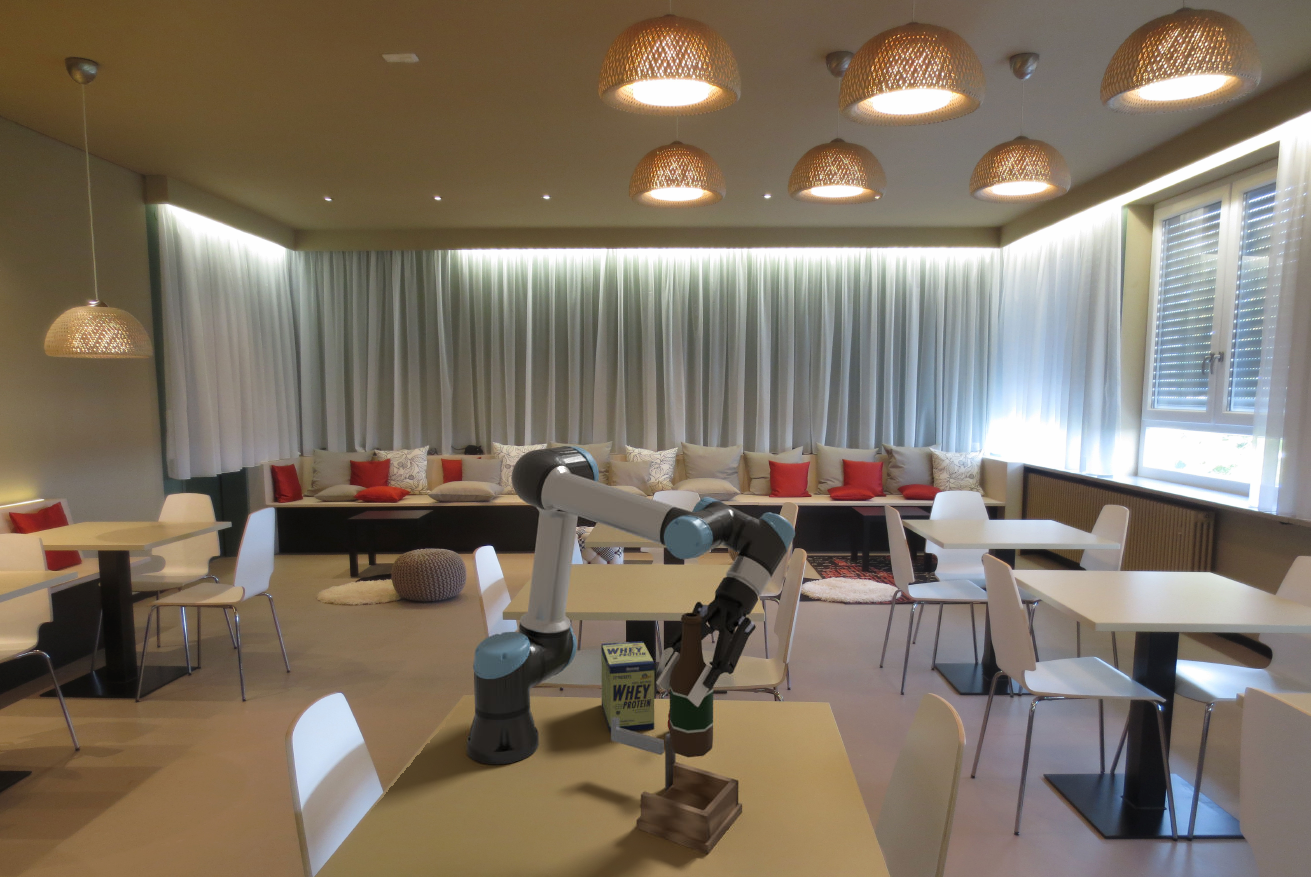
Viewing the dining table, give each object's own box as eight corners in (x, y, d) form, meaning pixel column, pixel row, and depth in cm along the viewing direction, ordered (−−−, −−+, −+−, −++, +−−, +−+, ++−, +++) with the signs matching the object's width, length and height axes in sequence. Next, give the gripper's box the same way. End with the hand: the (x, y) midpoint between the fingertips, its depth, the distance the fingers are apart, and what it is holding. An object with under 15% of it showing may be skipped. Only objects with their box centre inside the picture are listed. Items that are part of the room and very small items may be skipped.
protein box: (609, 734, 161) (609, 666, 160) (600, 704, 176) (600, 642, 175) (655, 729, 163) (655, 662, 162) (642, 701, 178) (642, 639, 177)
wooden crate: (626, 824, 127) (626, 767, 126) (668, 785, 140) (668, 732, 139) (708, 854, 119) (708, 792, 118) (744, 809, 131) (744, 753, 131)
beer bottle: (710, 760, 123) (710, 623, 121) (665, 756, 124) (665, 620, 123) (715, 739, 130) (716, 609, 129) (673, 735, 132) (673, 606, 130)
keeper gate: (611, 740, 144) (611, 718, 144) (614, 738, 145) (614, 716, 145) (660, 755, 138) (660, 732, 138) (663, 752, 139) (663, 729, 139)
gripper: (793, 610, 128) (729, 725, 118) (713, 587, 143) (651, 687, 134) (774, 586, 124) (706, 703, 115) (694, 565, 140) (628, 666, 130)
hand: (676, 694), depth 124 cm, fingers closed on beer bottle, 7 cm apart
